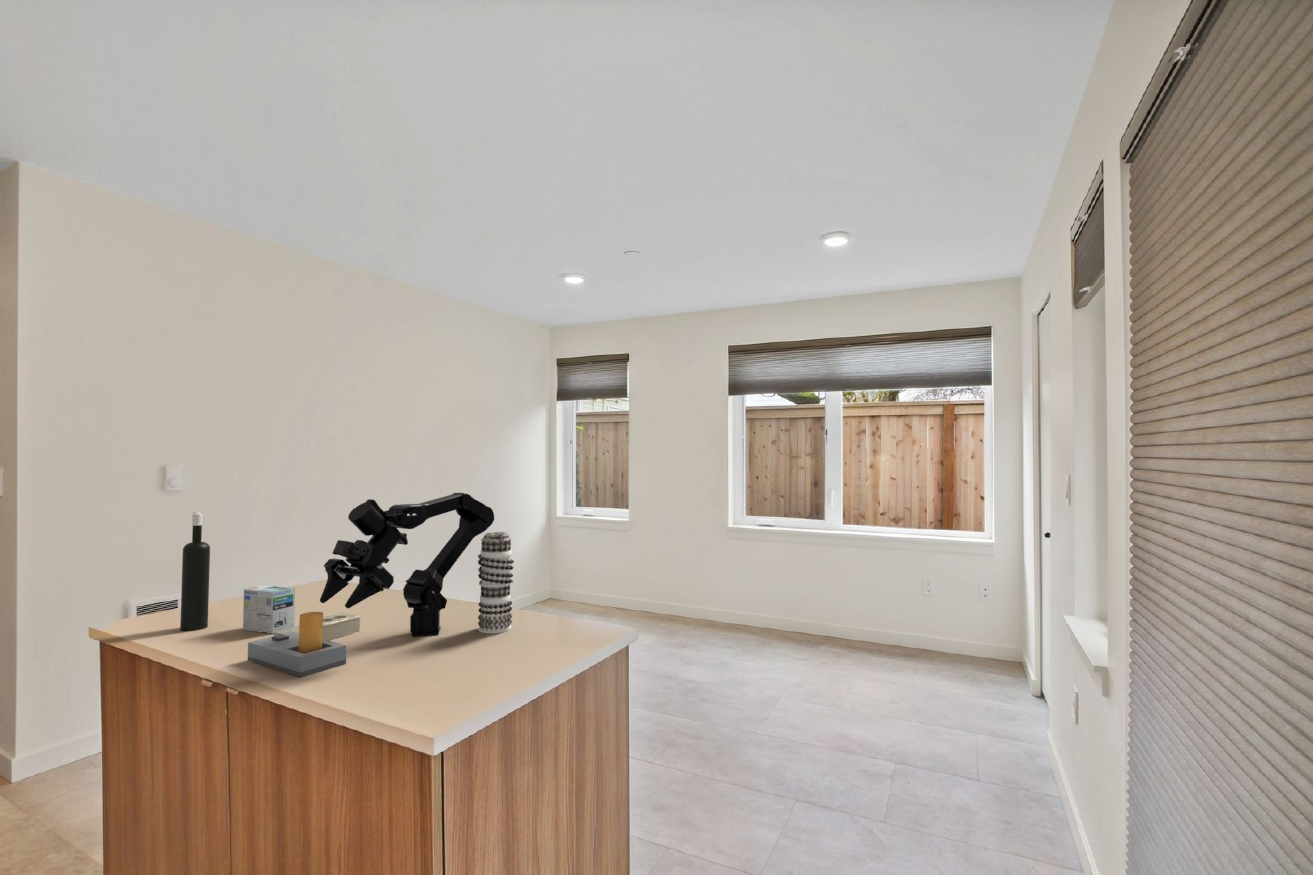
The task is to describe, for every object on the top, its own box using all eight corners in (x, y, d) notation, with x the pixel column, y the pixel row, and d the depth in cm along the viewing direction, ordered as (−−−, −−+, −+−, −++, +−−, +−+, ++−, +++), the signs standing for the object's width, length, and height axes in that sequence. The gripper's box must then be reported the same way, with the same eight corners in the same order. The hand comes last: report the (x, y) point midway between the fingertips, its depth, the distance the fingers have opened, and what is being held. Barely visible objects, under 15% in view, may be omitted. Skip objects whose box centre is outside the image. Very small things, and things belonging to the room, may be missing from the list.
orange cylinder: (326, 658, 136) (327, 612, 137) (312, 665, 132) (313, 617, 132) (307, 657, 137) (309, 611, 137) (293, 664, 133) (294, 616, 133)
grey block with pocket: (346, 663, 136) (346, 642, 136) (300, 677, 127) (300, 654, 128) (293, 649, 146) (293, 629, 146) (247, 660, 138) (248, 639, 138)
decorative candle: (472, 627, 166) (473, 532, 167) (506, 622, 171) (507, 530, 172) (482, 635, 158) (484, 536, 159) (518, 630, 163) (519, 533, 164)
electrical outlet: (274, 627, 148) (342, 612, 164) (273, 645, 148) (341, 628, 164) (293, 631, 145) (360, 615, 161) (292, 649, 145) (360, 631, 161)
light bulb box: (295, 627, 164) (296, 586, 165) (272, 634, 158) (273, 591, 158) (265, 624, 168) (266, 583, 168) (241, 630, 161) (242, 588, 162)
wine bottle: (183, 626, 165) (187, 511, 166) (209, 624, 167) (213, 511, 168) (177, 632, 159) (181, 513, 160) (205, 629, 162) (208, 512, 163)
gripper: (332, 524, 149) (284, 579, 139) (382, 529, 139) (335, 588, 130) (362, 553, 155) (318, 607, 146) (412, 559, 146) (368, 618, 136)
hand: (333, 604), depth 139 cm, fingers open, 9 cm apart
